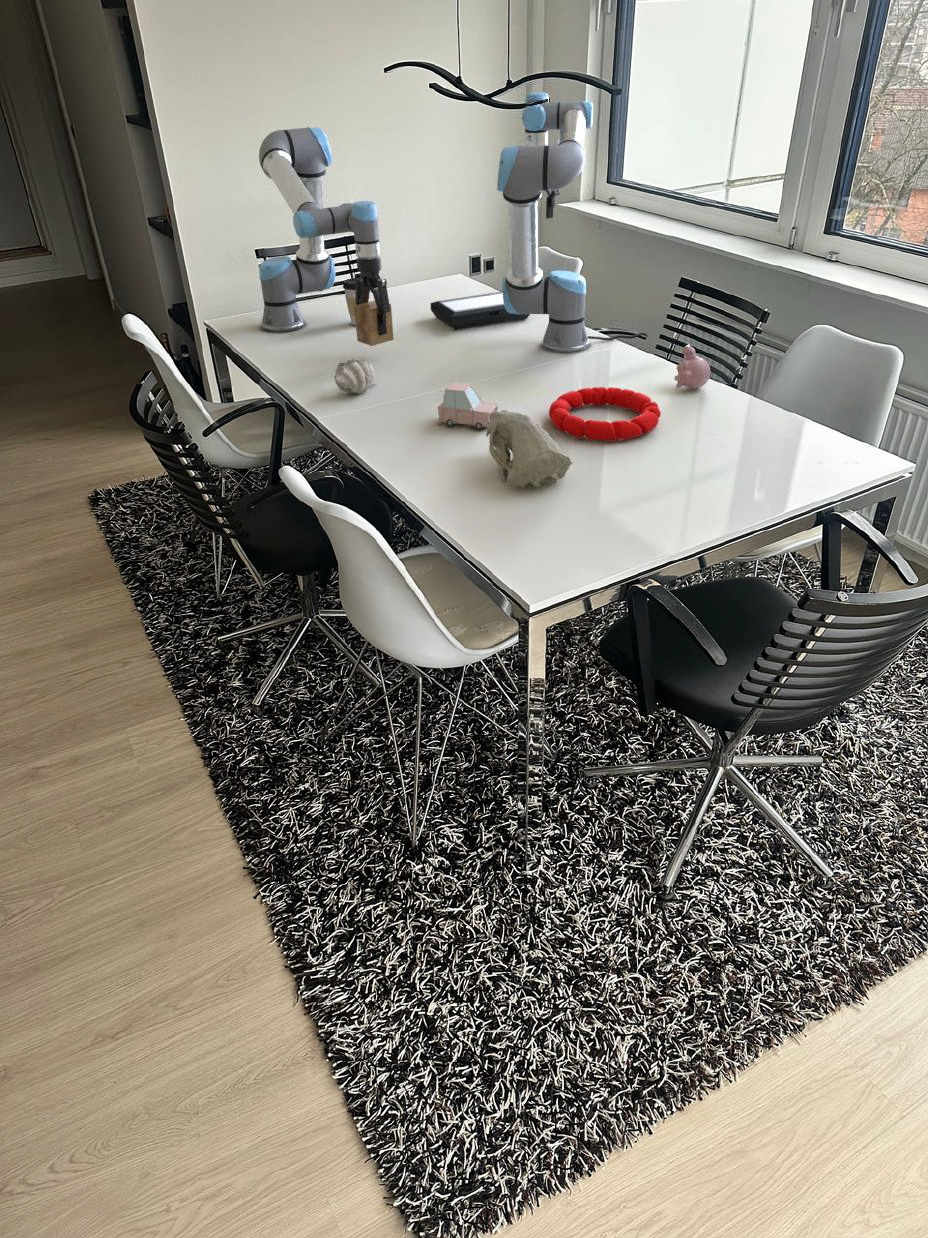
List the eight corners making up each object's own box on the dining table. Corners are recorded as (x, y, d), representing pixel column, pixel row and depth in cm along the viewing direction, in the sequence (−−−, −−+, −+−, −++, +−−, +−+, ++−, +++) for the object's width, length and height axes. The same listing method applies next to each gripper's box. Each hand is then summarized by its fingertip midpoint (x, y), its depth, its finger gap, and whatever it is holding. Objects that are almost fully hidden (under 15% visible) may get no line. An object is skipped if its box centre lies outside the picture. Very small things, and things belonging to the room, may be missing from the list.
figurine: (665, 387, 264) (669, 347, 257) (693, 380, 268) (698, 340, 261) (686, 396, 257) (690, 355, 250) (714, 388, 262) (720, 348, 255)
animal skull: (496, 517, 219) (521, 479, 201) (463, 429, 225) (484, 384, 207) (557, 503, 225) (586, 465, 206) (523, 417, 231) (549, 373, 212)
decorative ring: (589, 435, 224) (684, 402, 234) (527, 398, 247) (617, 369, 256) (589, 461, 229) (683, 427, 238) (529, 422, 251) (617, 393, 260)
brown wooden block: (357, 341, 288) (353, 305, 282) (379, 334, 293) (376, 299, 287) (371, 345, 284) (368, 309, 277) (393, 339, 288) (391, 304, 282)
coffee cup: (372, 326, 323) (368, 283, 314) (345, 327, 323) (340, 284, 315) (374, 318, 331) (371, 276, 322) (348, 319, 331) (344, 277, 323)
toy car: (488, 432, 240) (488, 396, 234) (436, 426, 244) (434, 390, 239) (499, 419, 247) (499, 384, 241) (448, 413, 252) (447, 379, 246)
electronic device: (452, 314, 311) (430, 300, 326) (452, 332, 314) (431, 318, 330) (532, 301, 321) (508, 289, 336) (532, 319, 325) (508, 305, 340)
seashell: (327, 392, 269) (323, 359, 263) (372, 382, 274) (369, 350, 269) (340, 402, 261) (336, 369, 255) (386, 392, 267) (383, 359, 261)
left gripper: (339, 254, 278) (346, 327, 291) (379, 263, 266) (385, 340, 278) (358, 249, 282) (365, 322, 295) (398, 259, 270) (403, 335, 282)
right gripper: (501, 144, 301) (502, 212, 313) (556, 150, 286) (554, 221, 298) (517, 142, 305) (517, 209, 317) (571, 147, 290) (569, 218, 302)
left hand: (374, 331), depth 287 cm, fingers closed on brown wooden block, 8 cm apart
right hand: (535, 215), depth 308 cm, fingers open, 13 cm apart
